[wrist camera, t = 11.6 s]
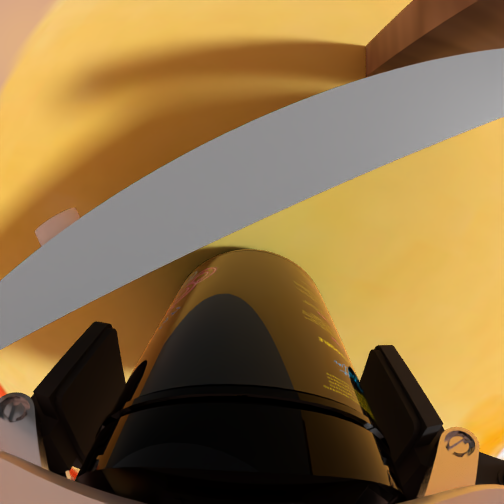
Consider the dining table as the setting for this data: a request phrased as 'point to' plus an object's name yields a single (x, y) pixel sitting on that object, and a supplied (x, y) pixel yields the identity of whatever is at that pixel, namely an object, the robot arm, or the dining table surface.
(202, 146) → the door
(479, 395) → the dining table surface
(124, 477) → the supplement container
